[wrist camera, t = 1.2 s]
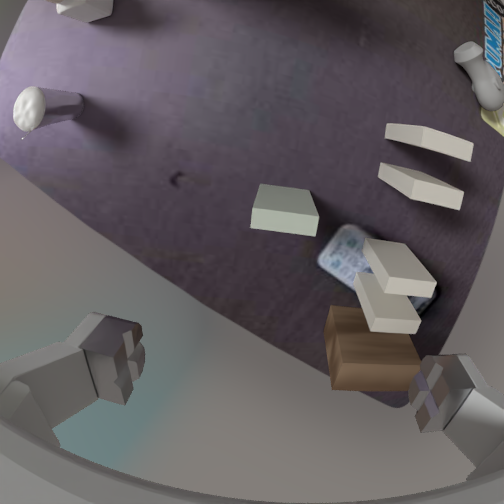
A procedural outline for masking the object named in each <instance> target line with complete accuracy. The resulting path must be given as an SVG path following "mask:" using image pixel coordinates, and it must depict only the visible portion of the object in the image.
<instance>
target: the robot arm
mask: <svg viewBox="0 0 504 504" xmlns="http://www.w3.org/2000/svg"><path fill="white" fill-rule="evenodd" d="M142 336H143V333H142V326H141V325H140V324H139V323H137V322H132V321H128V320H124V319H120V318H116V317H112V316H107V315H104V314H100V313H96V312H92V313H89V315H88V316H87V317H86V318H85V319H84V320H83V321H82V322H81V323H80V324H79V326H78V327H77V328H76V329H75V330H74V331H73V332H72V333H71V335H70V336H69V337H68V338H67V339H66V340H65V341H64V343H62V342H57V343H54V344H51V345H49V346H46V347H43V348H40V349H38V350H35V351H32V352H30V353H27V354H24V355H21V356H19V357H16V358H14V359H11V360H8V361H5V362H3V363H0V504H504V394H502V393H501V392H499V391H498V390H496V389H495V388H493V387H492V386H491V387H488V385H487V383H486V382H485V380H484V378H483V377H482V375H481V374H480V372H479V370H478V369H477V367H476V366H475V364H474V363H473V361H472V359H471V358H470V356H469V355H467V354H453V355H426V356H425V357H424V358H423V360H422V362H421V364H420V369H421V371H420V372H419V373H417V374H416V375H415V376H414V377H413V379H412V381H411V383H410V386H409V392H408V394H409V401H410V403H411V406H412V407H414V408H415V409H416V410H417V413H416V415H415V418H416V421H417V424H418V426H419V429H420V432H421V433H422V432H423V433H424V432H434V431H443V430H444V431H443V433H444V434H445V435H446V436H447V437H448V438H449V439H450V440H451V441H452V442H453V443H454V444H455V445H456V446H457V447H458V448H459V449H460V451H461V452H462V453H463V454H464V455H465V456H466V457H467V458H468V459H469V460H470V461H471V462H472V463H473V464H474V465H475V466H476V469H475V470H474V471H473V472H471V473H470V475H468V477H467V479H466V480H467V481H466V482H462V483H459V484H455V485H452V486H447V487H444V488H440V489H435V490H431V491H426V492H421V493H416V494H411V495H405V496H399V497H392V498H385V499H377V500H368V501H357V502H342V503H279V502H264V501H253V500H244V499H235V498H228V497H221V496H214V495H209V494H203V493H198V492H193V491H188V490H183V489H179V488H175V487H171V486H166V485H162V484H159V483H155V482H151V481H147V480H144V479H141V478H138V477H134V476H131V475H128V474H125V473H122V472H119V471H116V470H113V469H110V468H108V467H105V466H102V465H100V464H97V463H94V462H92V461H89V460H87V459H84V458H82V457H79V456H77V455H75V454H73V453H70V452H68V451H66V450H64V449H62V448H60V443H59V440H58V439H57V437H56V436H55V434H54V432H53V431H52V428H54V427H55V426H57V425H58V424H60V423H62V422H63V421H65V420H66V419H68V418H69V417H71V416H73V415H74V414H76V413H77V412H79V411H80V410H82V409H84V408H85V407H87V406H88V405H90V404H92V403H93V402H95V401H96V400H98V398H101V399H104V400H107V401H111V402H114V403H118V404H122V405H126V403H127V401H128V399H129V397H130V395H131V393H132V391H133V384H132V381H135V380H137V379H139V377H140V375H141V373H142V371H143V367H144V363H145V349H144V347H143V345H142V344H141V343H140V342H139V341H140V339H141V338H142Z"/></svg>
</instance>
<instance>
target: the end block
mask: <svg viewBox="0 0 504 504" xmlns="http://www.w3.org/2000/svg"><path fill="white" fill-rule="evenodd" d="M324 337H325V344H326V351H327V357H328V364H329V372H330V379H331V387H332V390H348V391H351V390H352V391H408V390H409V386H410V383H411V381H412V379H413V377H414V376H415V375H416V374H417V373H418V372H419V371H420V364H421V360H420V358H419V356H418V353H417V351H416V349H415V347H414V345H413V343H412V341H411V338H410V336H409V334H404V333H387V332H372V331H370V329H369V326H368V323H367V320H366V317H365V315H364V312H363V309H362V308H353V307H343V306H334V305H331V307H330V310H329V314H328V317H327V321H326V324H325V328H324Z"/></svg>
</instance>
